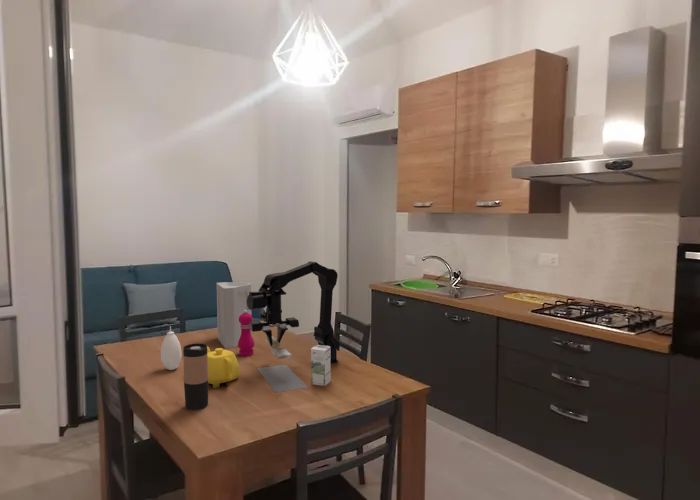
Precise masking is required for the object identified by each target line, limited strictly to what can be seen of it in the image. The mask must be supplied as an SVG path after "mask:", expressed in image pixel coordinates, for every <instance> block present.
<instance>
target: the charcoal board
mask: <svg viewBox="0 0 700 500" xmlns="http://www.w3.org/2000/svg"><path fill="white" fill-rule="evenodd" d="M256 369H257V371H258V372H259V373H260V374H261V376H262V378H264V380H265V382H266V383H267V384H268V385H269V386H270V388H271V389H272V390H273V392H274V393H283V392H288V391H294V390H295V391H296V390H301V389H307V388H309V387H308V386H307V384H305V383H304V382H303V381H302V379H300V378H299V376H298V375H296V373H295V372H294V371H293V370H292V369H291V368H290V367H289V366H288V365H287V364H281V365H271V366H266V367H258V368H256Z"/></svg>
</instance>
